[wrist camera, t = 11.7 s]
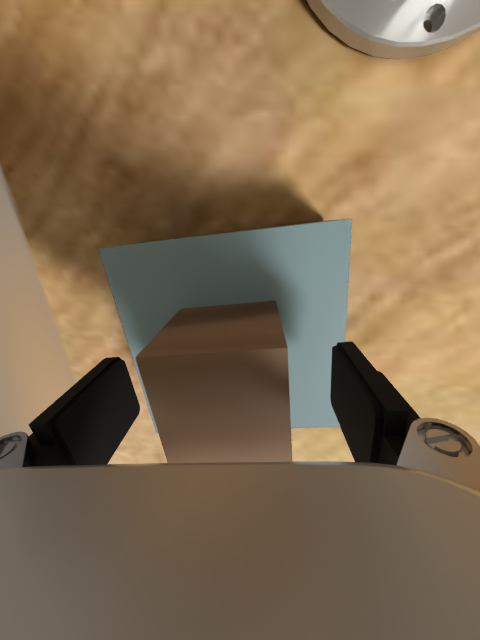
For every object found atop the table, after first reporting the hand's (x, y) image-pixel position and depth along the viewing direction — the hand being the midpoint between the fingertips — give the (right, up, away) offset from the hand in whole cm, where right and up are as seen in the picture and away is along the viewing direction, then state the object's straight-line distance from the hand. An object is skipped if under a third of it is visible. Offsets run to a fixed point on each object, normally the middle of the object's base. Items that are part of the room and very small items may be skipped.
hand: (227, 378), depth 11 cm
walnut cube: (0, +1, +3) cm, 3 cm away
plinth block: (0, +2, +6) cm, 7 cm away
